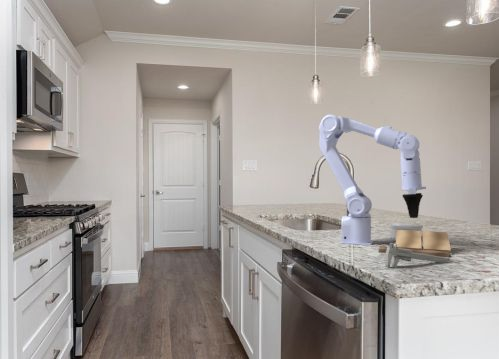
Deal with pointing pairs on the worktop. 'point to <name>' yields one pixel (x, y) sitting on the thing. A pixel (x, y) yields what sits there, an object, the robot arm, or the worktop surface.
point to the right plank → (436, 241)
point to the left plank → (408, 239)
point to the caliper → (408, 256)
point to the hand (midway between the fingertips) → (413, 216)
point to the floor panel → (420, 251)
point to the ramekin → (403, 227)
